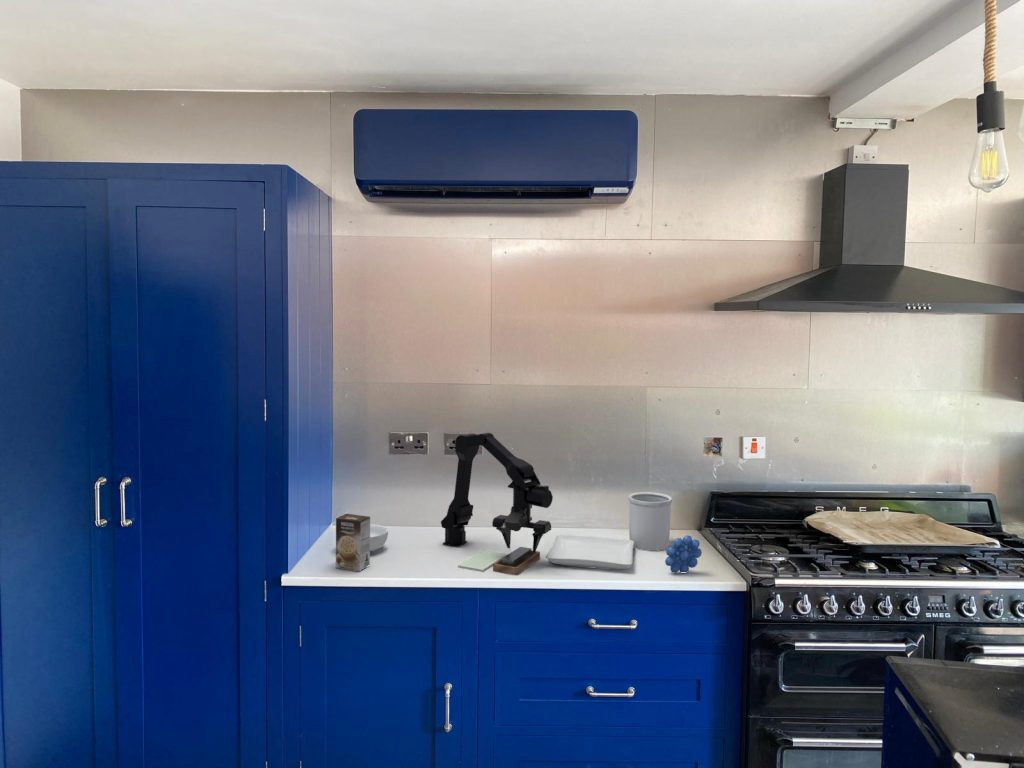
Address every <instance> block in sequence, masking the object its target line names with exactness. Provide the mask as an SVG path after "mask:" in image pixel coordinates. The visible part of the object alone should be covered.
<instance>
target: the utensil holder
mask: <svg viewBox="0 0 1024 768" xmlns="http://www.w3.org/2000/svg"><path fill="white" fill-rule="evenodd" d="M628 500H629V501H628V502H629V506H628V507H629V513H628V514H629V515H628V516H629V525H628V526H629V527H628V528H629V530H628V531H629V532H628V533H629V540H632V541H634V546H633V549H636V550H640V549H641V550H642V551H645V550H650V551H649V552H657V551H656V550H661V551H664V549H665V550H667V548H668V547H670V536H671V535H670V533H671V532H670V531H671V510H672V509H671V508H672V507H671V506H672V502H673V498H672V496H670V495H669V494H665V493H661V492H654V491H653V492H651V491H649V492H648V491H641V492H633V493H630V494H629V495H628Z"/></svg>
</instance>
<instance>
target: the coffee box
mask: <svg viewBox="0 0 1024 768" xmlns="http://www.w3.org/2000/svg"><path fill="white" fill-rule="evenodd" d="M370 524H371V516H368V515H361V514H352V513H345V514H343V515H341V516H339V517H336V518H335V569H339V568H341V569H340V570H345V569H346V570H345V571H351V570H356V571H355V572H358V571H360V572H362V571H363V570H362V569H364V568H365V567H367V566H368V565H371V552H370ZM367 568H368V567H367ZM365 569H366V568H365ZM365 569H364V570H365ZM361 570H362V571H361Z"/></svg>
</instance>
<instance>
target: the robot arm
mask: <svg viewBox="0 0 1024 768" xmlns="http://www.w3.org/2000/svg"><path fill="white" fill-rule="evenodd" d="M480 446H482V447H483V448H484V449H485V450H486V451H487V452H488V453H490V455H491V456H493V457H494V459H496V460H497V462H499V463H500V465H502V466H503V467H504V468H505V472H506V474H507V476H508V477H509V479H510V480H511V483H509V484H508V485H507V488H509V489H512V505H511V508H510V513H509V514H508V515H504V514H499V515H498V516H495V517H494V518H493V519H492V525H491V526H492V528H495V529H496V530H498V531H499V532H500V533H501V535H502V537H503V540H504V542H505V545H506V549H510V548H511V542H512V541H511V539H512V538H511V537H512V536H511V535H512V531H513V532H519V531H521V529H522V528H525V529H532V530H533V533H532V536H533V537H532V538H533V543H532V551H533V552H536V551H537V549H538V546H539V545H540V541H541V539H542V538H543V536H544V535H545V534H548V532H550V531H551V530H552V523H551V522H550V521H548V520H541V519H540V520H537V521H536V522H531V521H533V517H532V516H531V511H532V510H531V509H532V508H533V506H535V507H539V508H544V509H548V508H549V507H550V506H551V505H552V503H553V498H554V497H553V494H552V491H551V489H549V488H550V486H549V485H542V484H541V481H540V480H539V477H538V476H537V474H536V472H535V468H534V467H533V465H532V464H530V463H529V462H528V461H526V460H524V459H522V458H519V457H516V455H514V454H513V452H511V451H510V450H508V448H507V447H506V446H504V445H503V444H502V442H500V441H499V440H498V439H497V438H495V436H494V434H493V433H492V432H483V433H479V434H476V433H467V434H466V433H465V434H460V435H458V436H456V438H455V440H454V449H455V454H456V456H457V458H458V459H457V461H458V462H457V468H456V477H455V487H454V494H453V495H454V497H453V499H452V500H451V501H450V503H449V505H448V507H447V512H446V516H445V517H443V519H442V520H441V521H440V525H441V528H442V529H444V541H443V542H442V545H444V546H451V547H456V548H457V547H459V548H460V546H463V545H465V544H466V543H468V541H467V539H466V537H467V534H466V533H467V531H466V530H465V529H466V526H468V525H469V522H470V520H471V518H472V517H473V515H474V514H473V510H474V505H473V504H471V503H470V501H469V495H470V487H471V486H470V485H471V479H472V471H473V470H472V468H473V462H474V459H475V457H476V456H477V454H478V453H479V448H480Z"/></svg>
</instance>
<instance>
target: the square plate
mask: <svg viewBox="0 0 1024 768" xmlns="http://www.w3.org/2000/svg"><path fill="white" fill-rule="evenodd" d="M633 546H634V541H632V540H630V539H620V538H612V537H602V536H592V535H591V536H589V535H574V534H573V535H572V534H571V535H570V534H569V535H568V534H557V535H555V538H554V540H553V542H552V545H551V547H550V548H549V550H548V552H547V554H546V555H545V558H546V559H547V560H548V561H549V562H551V563H553V564H555V565H562V566H566V565H567V567H575V566H581V567H580V568H588V567H595V568H594V569H601V568H609V569H608V570H627V569H629V568H630V567H631V566H632V565H633V552H634V551H633V550H634V547H633Z"/></svg>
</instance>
